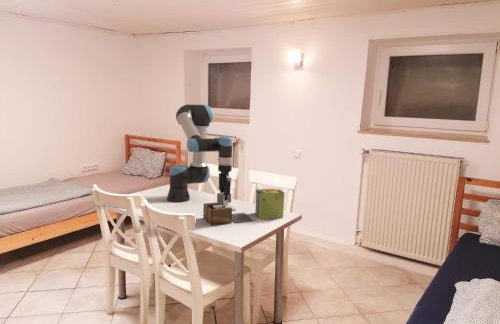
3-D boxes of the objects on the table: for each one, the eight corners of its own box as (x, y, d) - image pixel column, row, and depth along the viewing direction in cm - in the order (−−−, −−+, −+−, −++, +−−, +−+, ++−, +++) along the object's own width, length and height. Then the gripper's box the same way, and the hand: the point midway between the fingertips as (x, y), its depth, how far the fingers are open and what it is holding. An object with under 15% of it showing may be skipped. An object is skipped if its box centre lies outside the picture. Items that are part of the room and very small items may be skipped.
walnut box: (203, 217, 205) (203, 203, 204) (222, 215, 210) (223, 201, 209) (211, 225, 193) (211, 210, 191) (231, 223, 198) (232, 208, 196)
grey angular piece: (212, 206, 205) (212, 191, 204) (228, 205, 209) (228, 190, 208) (218, 212, 195) (219, 196, 193) (235, 210, 199) (236, 195, 198)
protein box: (283, 217, 211) (284, 192, 208) (258, 218, 208) (259, 192, 206) (279, 212, 221) (280, 188, 219) (255, 212, 219) (256, 188, 216)
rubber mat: (225, 215, 212) (225, 214, 212) (243, 213, 217) (243, 212, 217) (235, 223, 198) (235, 222, 198) (254, 220, 203) (254, 220, 203)
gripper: (213, 161, 204) (212, 201, 208) (224, 167, 189) (223, 209, 192) (225, 161, 207) (224, 200, 211) (237, 166, 192) (235, 208, 196)
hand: (223, 204), depth 202 cm, fingers closed on grey angular piece, 4 cm apart
